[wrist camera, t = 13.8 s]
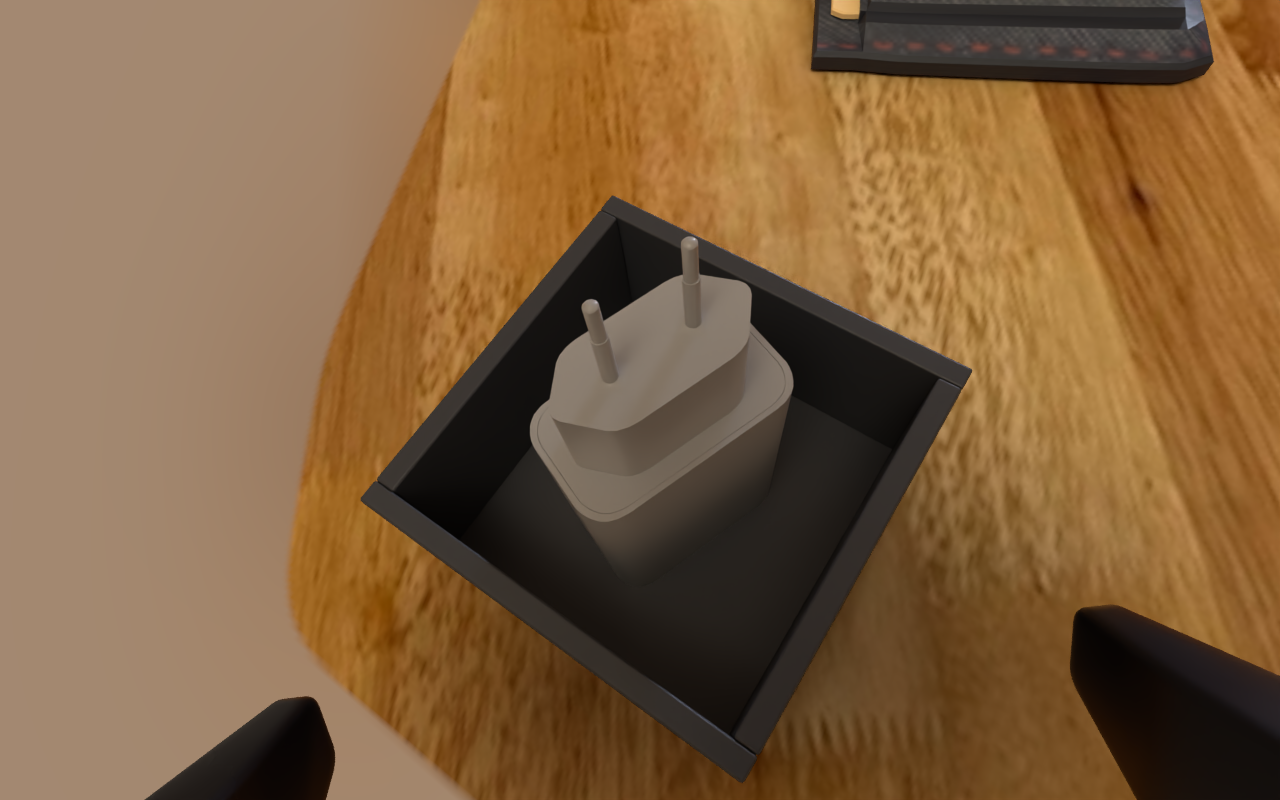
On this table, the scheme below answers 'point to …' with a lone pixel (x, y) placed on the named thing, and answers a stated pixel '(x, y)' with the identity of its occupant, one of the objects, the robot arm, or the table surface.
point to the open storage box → (732, 561)
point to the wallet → (1015, 39)
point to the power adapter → (665, 420)
